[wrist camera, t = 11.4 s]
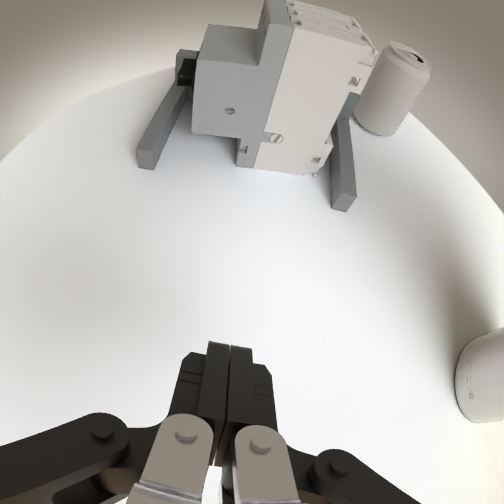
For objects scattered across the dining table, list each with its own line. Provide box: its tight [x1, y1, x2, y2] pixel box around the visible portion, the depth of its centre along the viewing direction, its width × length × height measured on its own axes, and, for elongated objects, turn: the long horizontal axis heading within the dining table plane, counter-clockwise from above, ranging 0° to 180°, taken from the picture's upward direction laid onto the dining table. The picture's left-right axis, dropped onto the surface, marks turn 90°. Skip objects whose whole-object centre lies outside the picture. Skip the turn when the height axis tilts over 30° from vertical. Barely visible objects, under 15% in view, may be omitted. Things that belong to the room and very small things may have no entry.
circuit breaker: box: [177, 0, 378, 177], centre depth 25 cm, size 8×14×15 cm, turn 90°
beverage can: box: [353, 42, 432, 136], centre depth 33 cm, size 6×6×12 cm
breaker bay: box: [136, 49, 360, 212], centre depth 29 cm, size 20×13×7 cm, turn 82°
